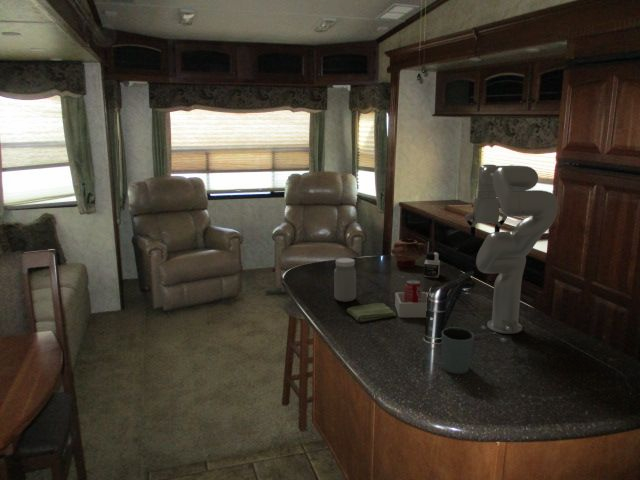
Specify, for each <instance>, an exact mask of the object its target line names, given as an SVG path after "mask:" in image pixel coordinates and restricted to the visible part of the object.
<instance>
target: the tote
mask: <svg viewBox="0 0 640 480" xmlns="http://www.w3.org/2000/svg"><path fill="white" fill-rule="evenodd" d="M428 294H429V293H428V291H427V292H425V291H422V298H421V303H404V292H403V291H402V292H395V296H394V299H395V300H394V301H395V302H394V305H395V309H396V312H397V313H396V314H397V315H398V318H427V317H426V311H427V297H428Z"/></svg>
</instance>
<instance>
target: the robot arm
mask: <svg viewBox="0 0 640 480" xmlns="http://www.w3.org/2000/svg"><path fill="white" fill-rule="evenodd" d="M477 179H478V184H477V195H476V196H477V197H475V198H474V202H473V207H472V212H469V213H468V214H466V215H464V220H465V221H466V223H467V224H468V225H469V226H470V227H469V228H470V229H469V230H470V232H469V234H470V235H471V236H472V237H475V236H476V225H477V224H478V223H479V224H480V223H482V224H484V223H485V224H487V223H489V224H490V223H491V224H492V223H493V224H495V225H494V231H493V232H490V233H489V234H488V235H487V236H486V237H485V239H484V241H483V242H482V245H481V246H480V248H479V250H478V252H477V255H476V259H475V260H476V261H475V265H476V268H477V270H478V271H479V272H481V273H483V274H498V275H497V276H496V279H495V281H494V284H493V285H494V286H493V296H492V297H493V298H492V312H491V313H492V314H491V319H490V320H488V321H487V328H488V329H489V330H491V331H493V332H496V333H500V334H506V335H507V334H510V335H511V334H512V335H513V334H519V333H520V332H522V331H523V326H522V324H521V323H519V318H520V317H519V315H520V306H521V305H520V304H521V302H520V301H521V291H522V280H523V275H524V271H525V267H526V263H527V256H528V255H529V253H531V251H532V250H533V248H534V247H535V245H536V244H537V243H538V241H539V239H540V238H541V237H542V236H543V235H544V234H545V233H546V232H547V231H548V230H549V229H550V228H551V226H552V225H553V224H554V223H555V220H556V218H557V216H558V211H559V201H558V198H557V196H556V195H555V194H554V193H552V192H551V191H548V190H543V189H542V190H539V189H538V190H535V189H534V190H533V189H532V188H534V187H536V186H537V184H538V181H539V174H538V173H537V171H536V170H535V169H534V168H532V167H531V166H526V165H514V164H512V165H510V164H509V165H495V164H481V165H480V166H479V167H478V178H477ZM500 209H501V211H502V212H500ZM471 217H472V218H471ZM500 217H501V219H500ZM508 217H525V218H523V219H521V220H520V221H519V222H518V223H517V224H516V225H515V227H514V229H512V230H508V231H500V230H501V226H502V225H504V224H505V222H506V220H507V219H508ZM470 218H471V219H472V220H470Z"/></svg>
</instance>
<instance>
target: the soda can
mask: <svg viewBox="0 0 640 480" xmlns="http://www.w3.org/2000/svg"><path fill="white" fill-rule="evenodd" d="M422 288H423V286H422V284H421V280H419V279H408V280H406V283H404V290H403V291H404V303H421V298H422V292H423V290H422Z"/></svg>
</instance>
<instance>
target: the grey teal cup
mask: <svg viewBox="0 0 640 480" xmlns="http://www.w3.org/2000/svg"><path fill="white" fill-rule="evenodd" d="M474 339H475V334H474V333H473V331H472V330H470V329H468V328H463V327H456V326H453V327H446V328H444V329H442V330H441V367H442V369H443V370H444V371H446V372H448V373H450V374H457V375H459V374H460V375H462V374H465V373H467V372H469V369H470V364H471V356H472V350H473V346H474Z"/></svg>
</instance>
